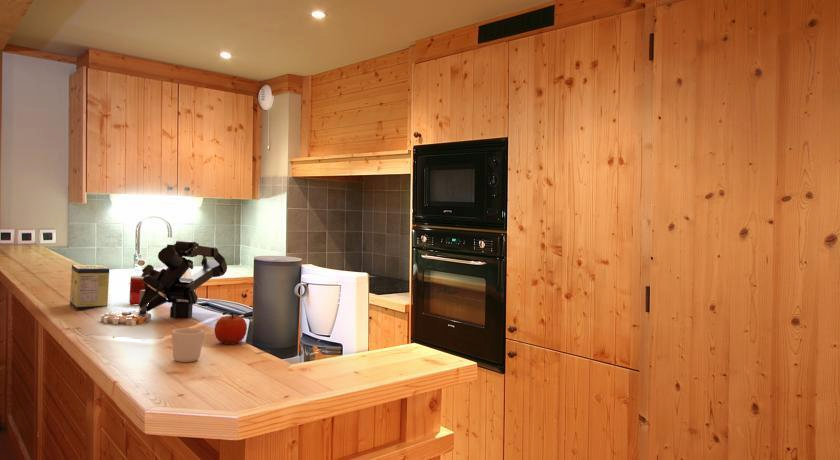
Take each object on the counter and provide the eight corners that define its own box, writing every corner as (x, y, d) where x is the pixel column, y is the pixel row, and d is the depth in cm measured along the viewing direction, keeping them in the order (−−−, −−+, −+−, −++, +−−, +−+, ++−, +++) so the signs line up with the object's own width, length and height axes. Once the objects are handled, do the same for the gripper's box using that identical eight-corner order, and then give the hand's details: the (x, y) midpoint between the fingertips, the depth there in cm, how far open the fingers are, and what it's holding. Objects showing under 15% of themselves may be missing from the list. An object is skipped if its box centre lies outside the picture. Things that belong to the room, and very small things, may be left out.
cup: (179, 353, 162) (181, 325, 162) (208, 354, 163) (210, 326, 162) (165, 363, 151) (167, 332, 151) (197, 364, 152) (199, 334, 152)
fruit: (253, 343, 180) (254, 311, 180) (228, 347, 172) (230, 314, 172) (231, 338, 185) (233, 306, 185) (207, 342, 177) (208, 310, 177)
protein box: (99, 303, 231) (101, 264, 231) (107, 309, 219) (110, 268, 219) (69, 304, 224) (71, 264, 224) (76, 311, 212) (78, 268, 212)
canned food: (142, 305, 231) (143, 278, 231) (124, 303, 233) (126, 276, 233) (154, 303, 239) (156, 276, 239) (137, 301, 240) (139, 275, 240)
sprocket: (159, 319, 202) (161, 290, 201) (129, 326, 187) (131, 295, 187) (123, 315, 205) (124, 286, 205) (90, 321, 190) (92, 291, 190)
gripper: (164, 268, 213) (134, 302, 208) (146, 251, 196) (113, 288, 191) (188, 284, 212) (159, 319, 207) (172, 269, 195) (139, 307, 189)
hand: (142, 308), depth 198 cm, fingers open, 6 cm apart
